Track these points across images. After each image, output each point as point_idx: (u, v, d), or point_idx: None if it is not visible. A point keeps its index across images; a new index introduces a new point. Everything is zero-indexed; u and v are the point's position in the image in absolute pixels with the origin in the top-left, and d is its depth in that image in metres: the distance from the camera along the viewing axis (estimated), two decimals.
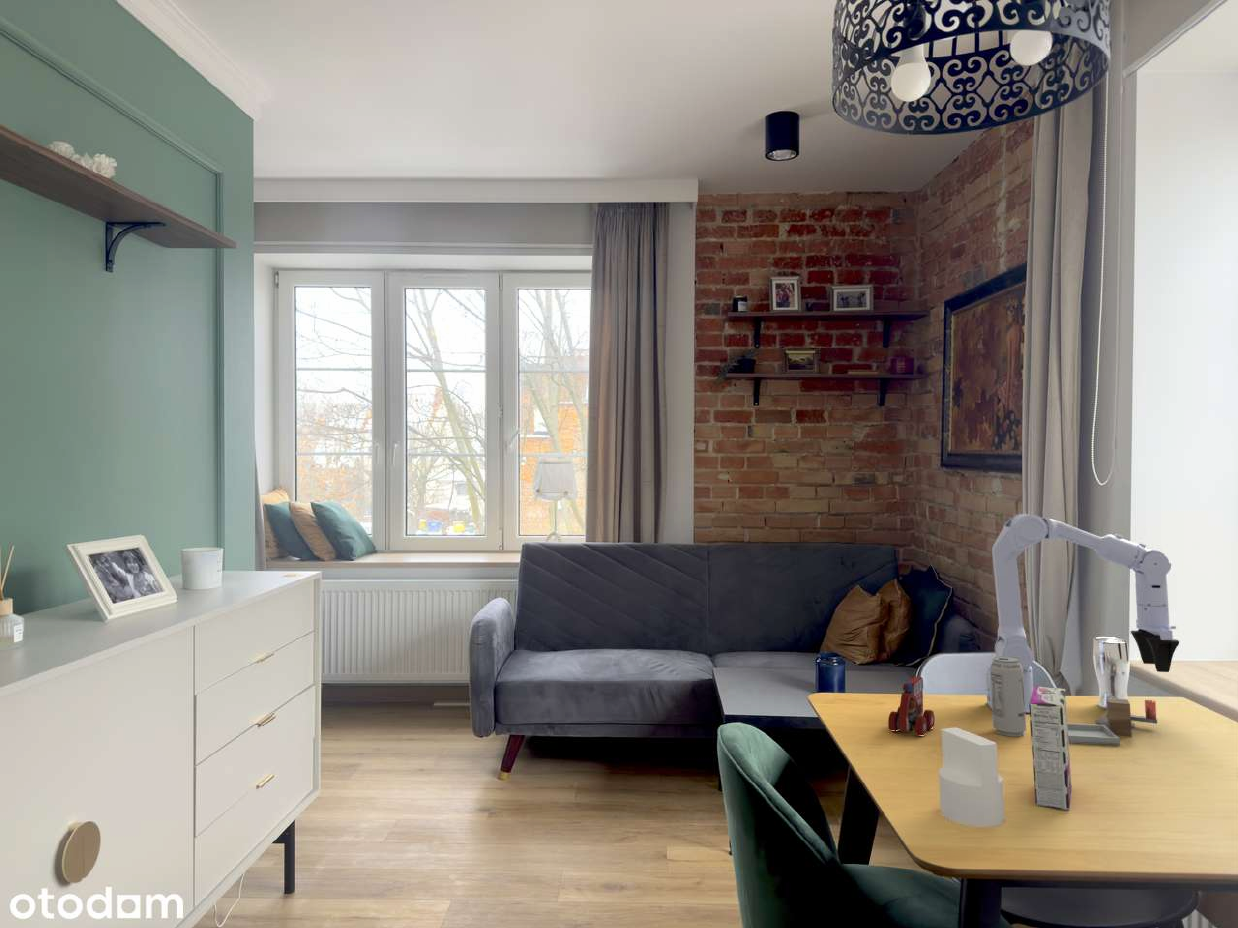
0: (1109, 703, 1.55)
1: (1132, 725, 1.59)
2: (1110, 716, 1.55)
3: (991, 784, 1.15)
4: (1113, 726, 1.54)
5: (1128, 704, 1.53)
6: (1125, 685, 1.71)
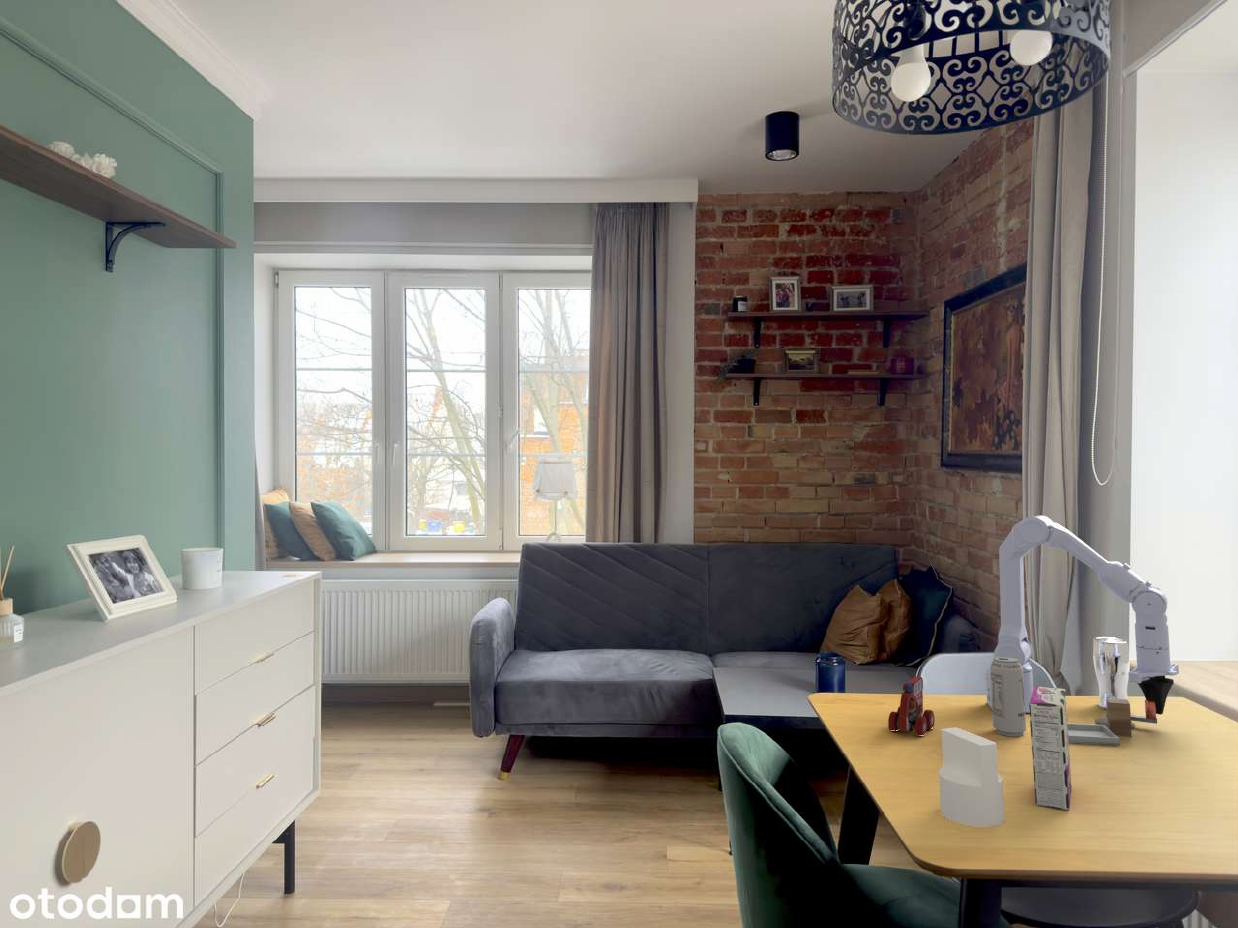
0: (1109, 703, 1.55)
1: (1132, 725, 1.59)
2: (1110, 716, 1.55)
3: (991, 785, 1.15)
4: (1113, 726, 1.54)
5: (1128, 704, 1.53)
6: (1125, 685, 1.71)
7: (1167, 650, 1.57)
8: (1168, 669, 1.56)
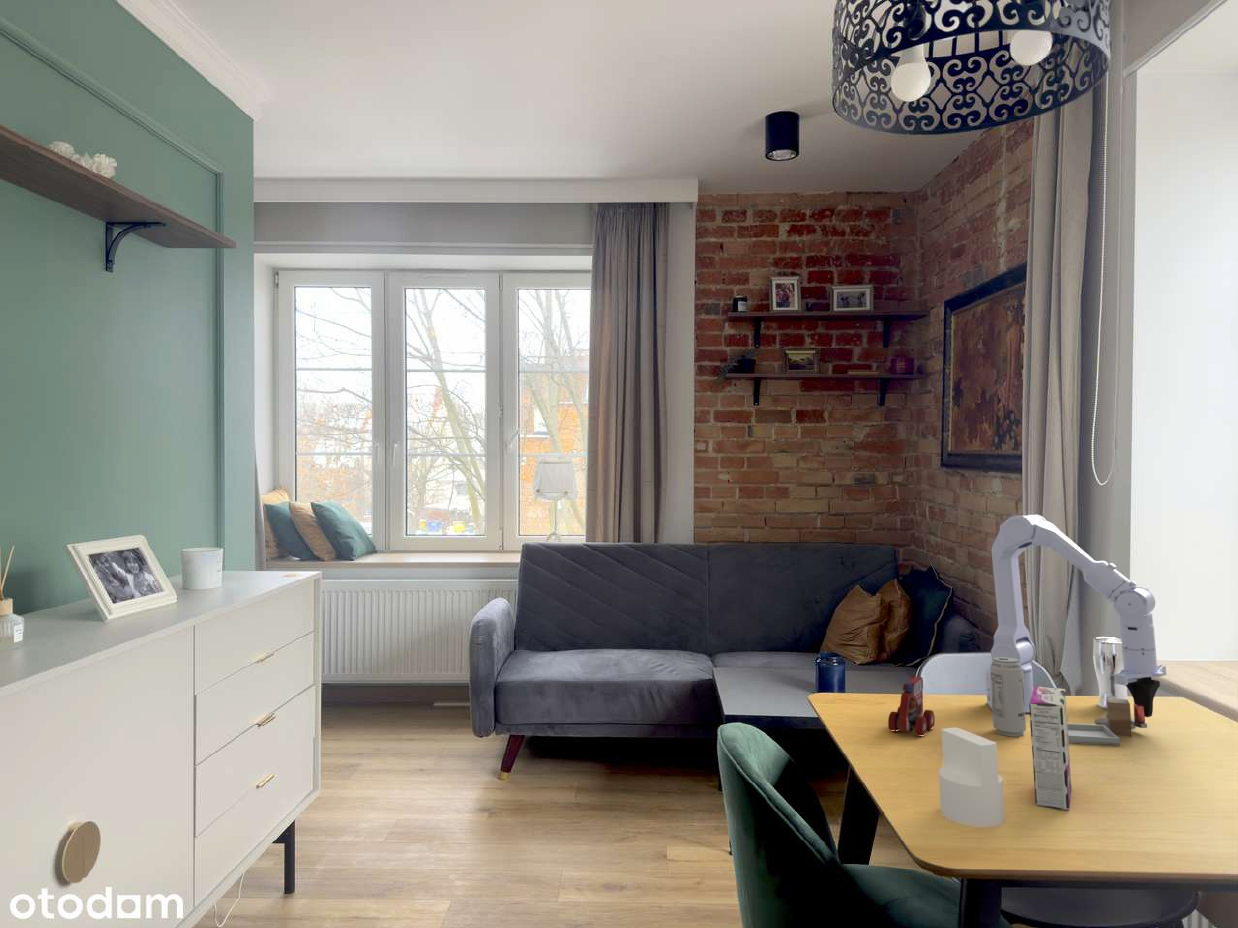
0: (1109, 703, 1.55)
1: (1132, 725, 1.59)
2: (1110, 716, 1.55)
3: (991, 784, 1.15)
4: (1113, 726, 1.54)
5: (1128, 704, 1.53)
6: (1125, 685, 1.71)
7: (1153, 651, 1.54)
8: (1155, 670, 1.54)
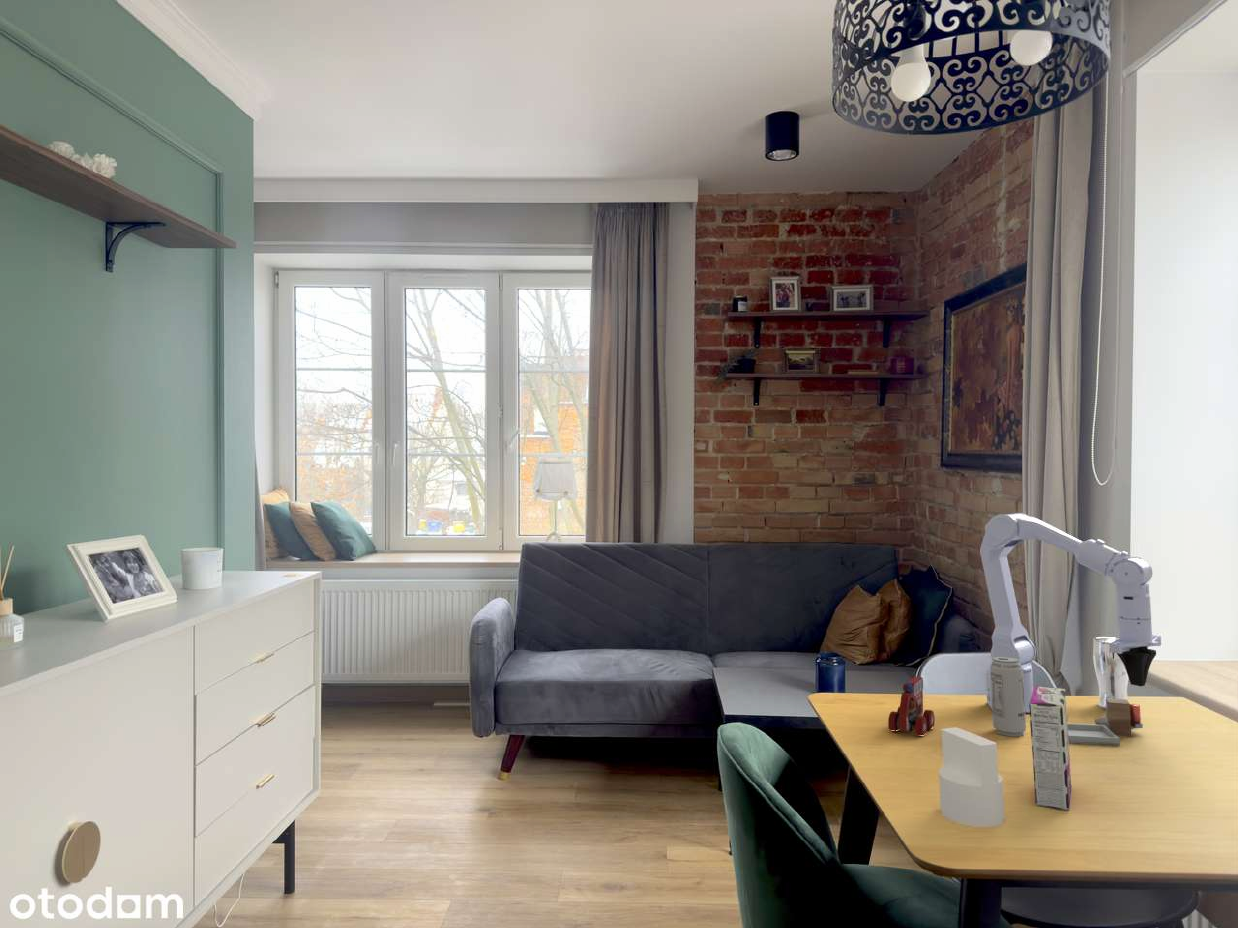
0: (1109, 703, 1.55)
1: None
2: (1110, 716, 1.55)
3: (991, 785, 1.15)
4: (1113, 726, 1.54)
5: (1128, 704, 1.53)
6: (1125, 685, 1.71)
7: (1149, 620, 1.54)
8: (1149, 640, 1.54)
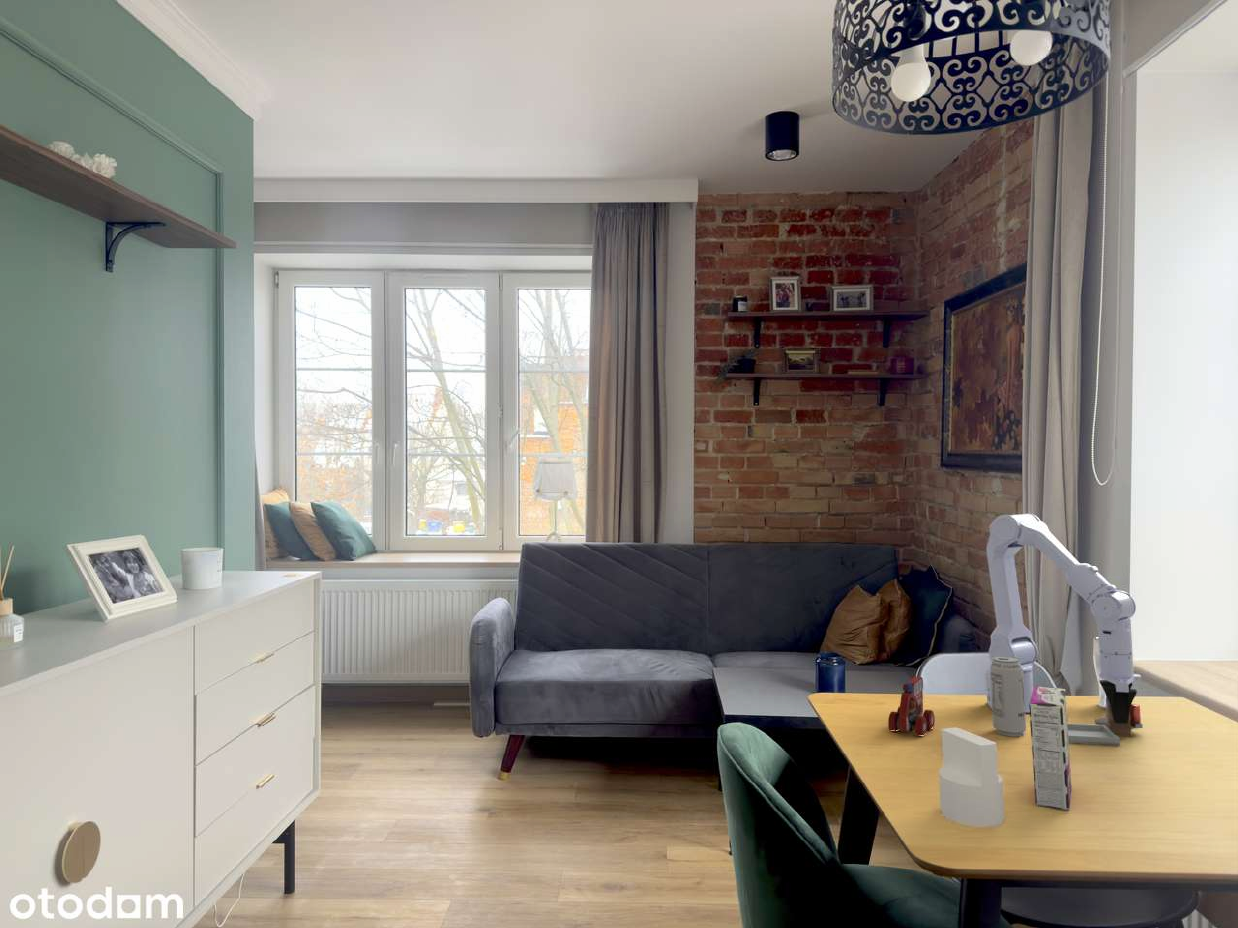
0: (1109, 703, 1.55)
1: None
2: (1110, 716, 1.55)
3: (991, 785, 1.15)
4: (1113, 726, 1.54)
5: None
6: None
7: (1132, 654, 1.55)
8: None
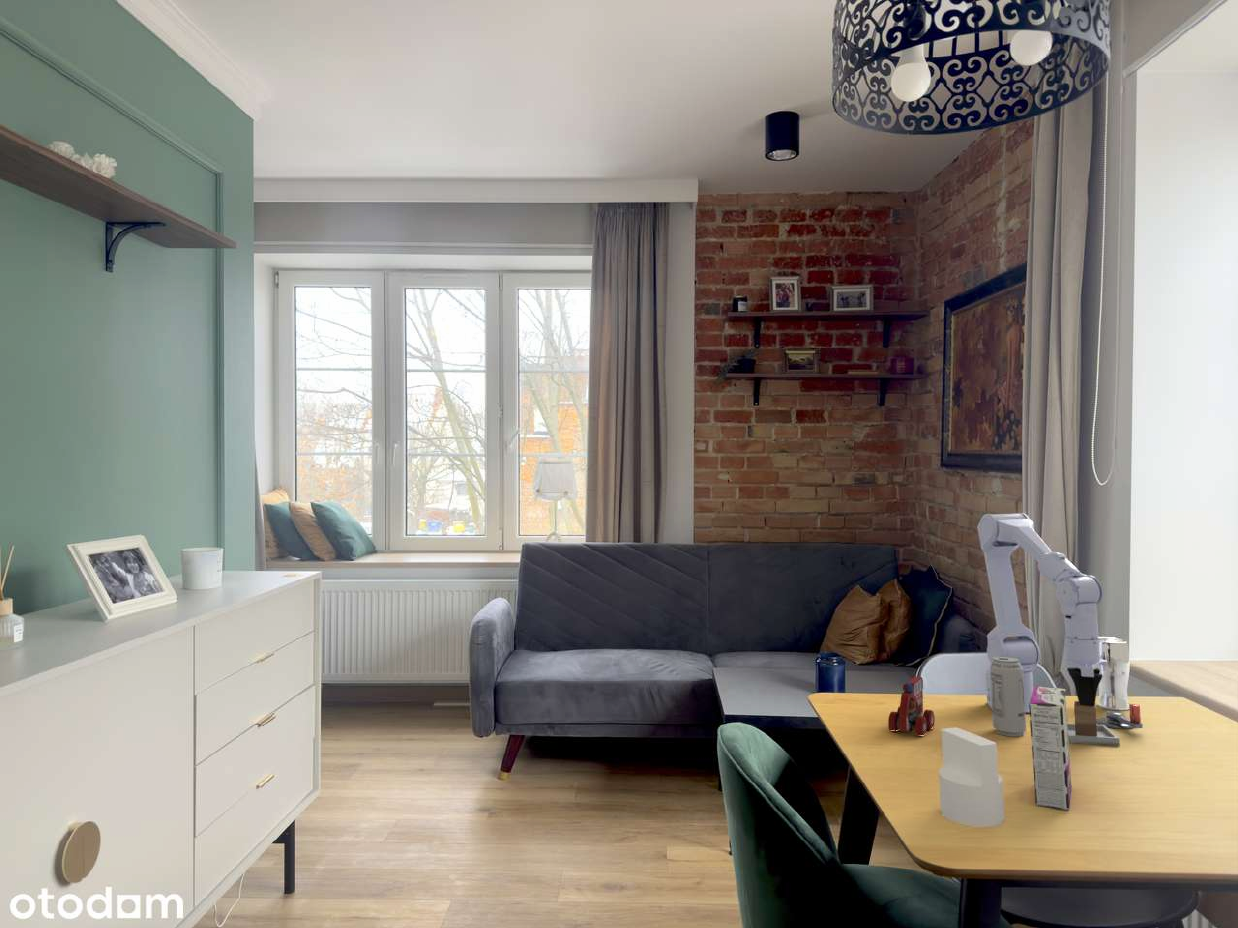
0: (1075, 706, 1.52)
1: None
2: (1075, 719, 1.52)
3: (991, 785, 1.15)
4: (1078, 729, 1.51)
5: (1094, 708, 1.50)
6: (1125, 685, 1.71)
7: None
8: (1099, 659, 1.52)
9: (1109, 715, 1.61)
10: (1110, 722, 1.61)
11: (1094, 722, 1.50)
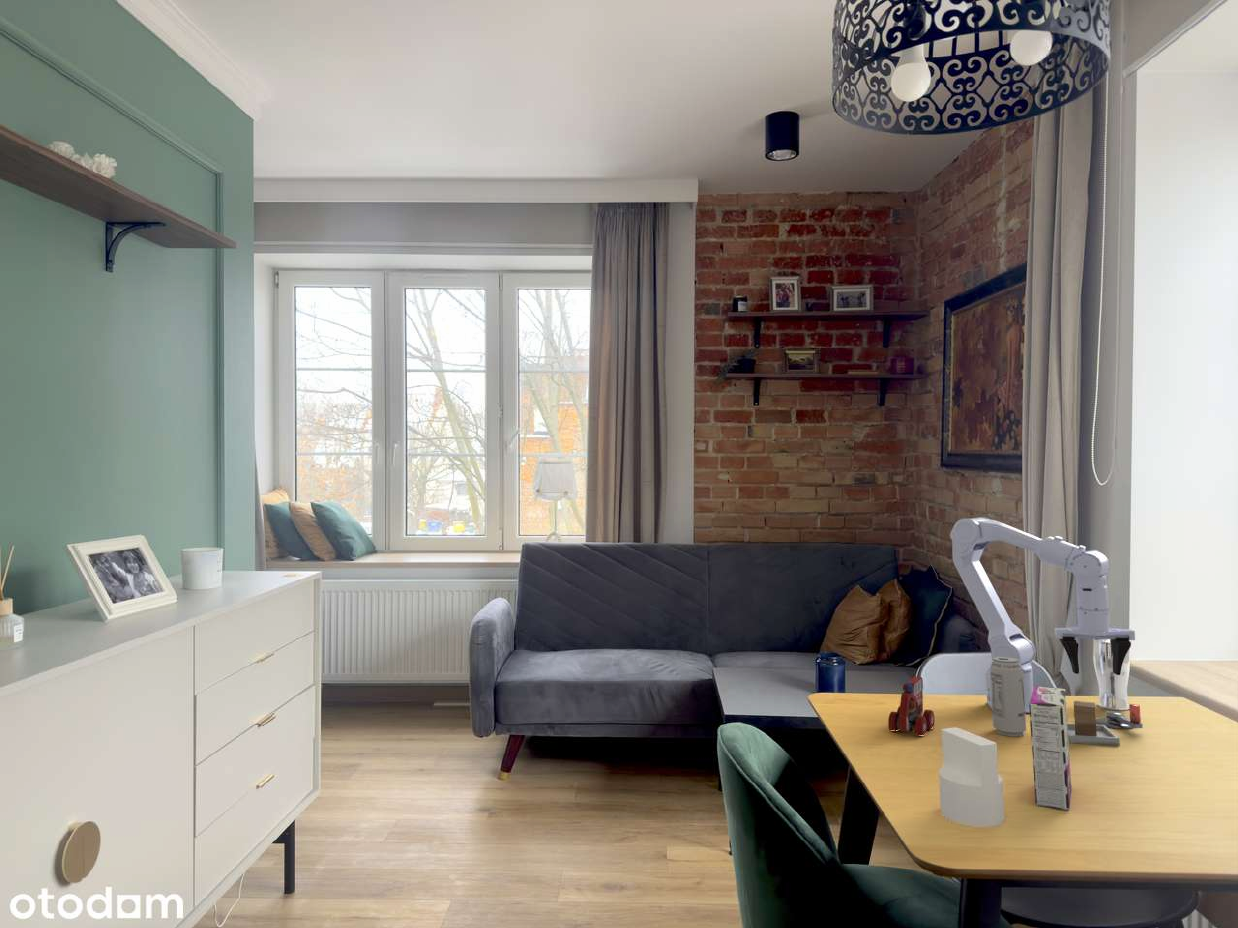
0: (1074, 706, 1.52)
1: None
2: (1075, 719, 1.52)
3: (991, 785, 1.15)
4: (1078, 729, 1.51)
5: (1093, 707, 1.50)
6: (1125, 685, 1.71)
7: (1097, 612, 1.60)
8: (1097, 630, 1.60)
9: (1109, 715, 1.61)
10: (1110, 722, 1.61)
11: (1094, 722, 1.50)
